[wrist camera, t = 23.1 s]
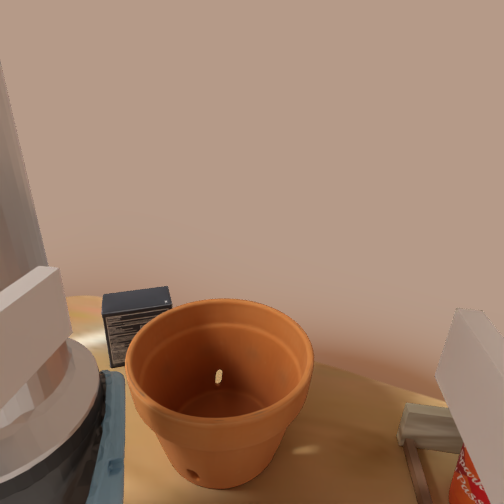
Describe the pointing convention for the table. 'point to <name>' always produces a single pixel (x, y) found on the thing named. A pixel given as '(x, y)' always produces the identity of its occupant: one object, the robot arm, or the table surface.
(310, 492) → the table surface
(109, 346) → the small box
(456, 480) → the coffee cup
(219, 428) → the flower pot
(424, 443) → the channel
